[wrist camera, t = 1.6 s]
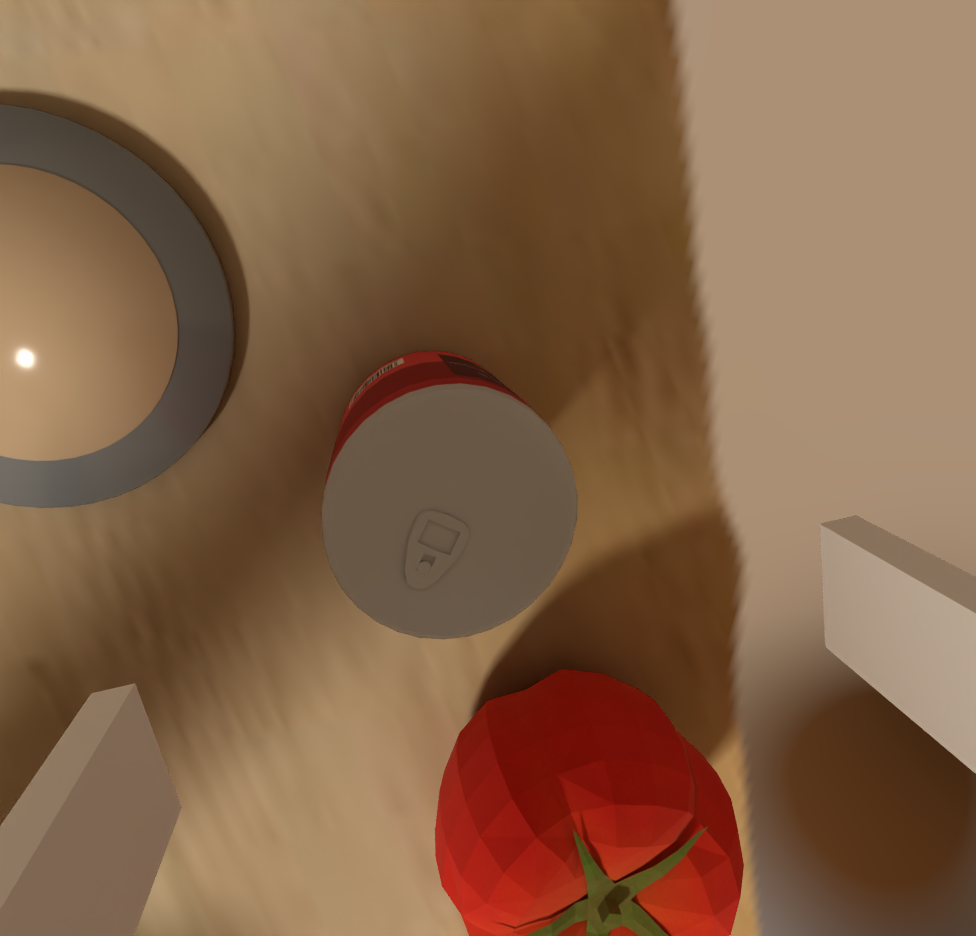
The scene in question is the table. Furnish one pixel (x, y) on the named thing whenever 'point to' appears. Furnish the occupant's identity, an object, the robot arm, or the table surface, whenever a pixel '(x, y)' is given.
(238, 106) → the table surface
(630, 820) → the tomato
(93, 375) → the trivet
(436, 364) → the canned food
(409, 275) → the table surface
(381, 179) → the table surface
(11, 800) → the table surface
